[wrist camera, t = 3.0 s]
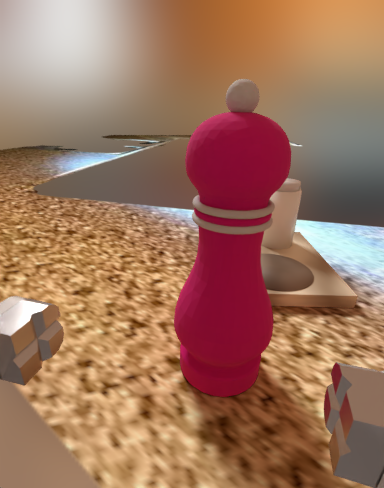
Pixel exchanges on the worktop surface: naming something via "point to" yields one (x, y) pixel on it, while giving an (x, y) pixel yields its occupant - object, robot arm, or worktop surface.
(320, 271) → the condiment board
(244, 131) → the pepper mill
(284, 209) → the salt shaker
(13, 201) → the worktop surface
